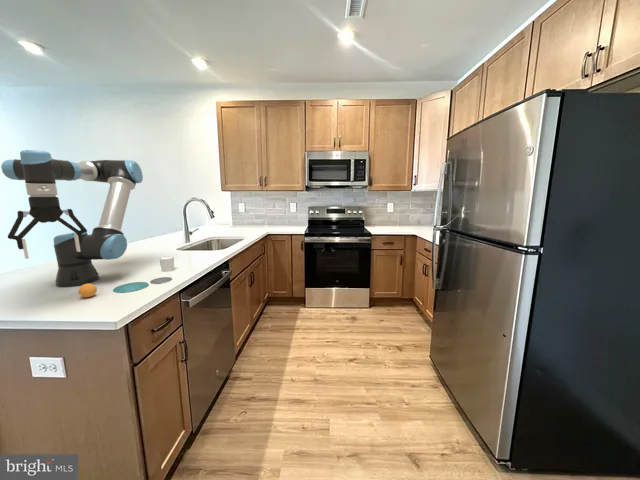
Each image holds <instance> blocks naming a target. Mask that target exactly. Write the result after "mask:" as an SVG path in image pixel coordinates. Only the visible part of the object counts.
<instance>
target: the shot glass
mask: <svg viewBox="0 0 640 480" xmlns="http://www.w3.org/2000/svg"><path fill="white" fill-rule="evenodd" d="M158 259H159V263H160V269H161V272H162V273H163V272H164V273H167V272H168V273H169V272H173V271H174V270H175V257H174V256H162V257H159V258H158Z"/></svg>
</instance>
